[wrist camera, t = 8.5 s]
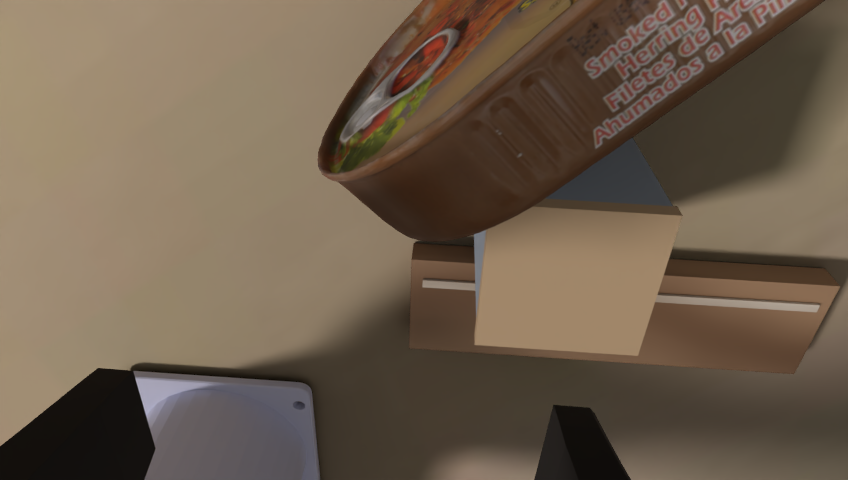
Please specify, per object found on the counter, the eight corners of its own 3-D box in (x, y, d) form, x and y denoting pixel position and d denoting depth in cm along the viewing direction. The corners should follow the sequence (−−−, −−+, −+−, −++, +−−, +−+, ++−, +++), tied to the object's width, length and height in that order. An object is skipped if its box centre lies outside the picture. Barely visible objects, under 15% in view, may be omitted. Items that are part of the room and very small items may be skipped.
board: (781, 354, 22) (795, 376, 22) (410, 330, 23) (408, 350, 22) (824, 268, 20) (842, 288, 19) (413, 243, 21) (411, 261, 20)
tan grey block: (594, 229, 20) (637, 355, 15) (472, 221, 20) (474, 345, 15) (621, 112, 18) (682, 216, 13) (483, 105, 18) (490, 204, 13)
